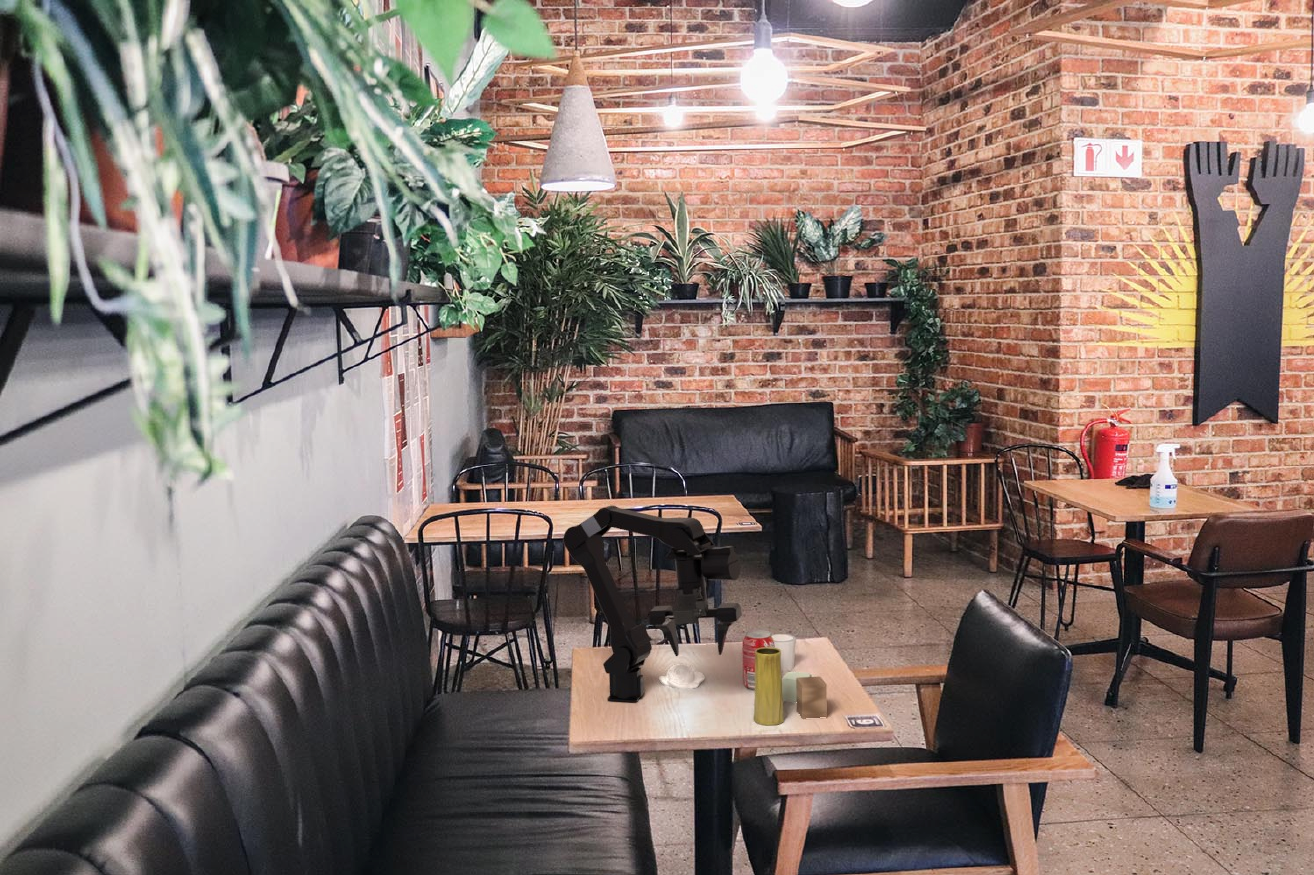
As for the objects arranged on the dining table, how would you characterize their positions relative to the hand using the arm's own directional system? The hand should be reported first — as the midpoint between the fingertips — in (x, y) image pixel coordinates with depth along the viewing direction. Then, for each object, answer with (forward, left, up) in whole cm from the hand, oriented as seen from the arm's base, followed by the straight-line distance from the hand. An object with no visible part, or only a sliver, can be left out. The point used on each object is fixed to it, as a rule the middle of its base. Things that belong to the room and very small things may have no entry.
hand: (698, 655), depth 220 cm
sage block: (+19, +10, -12) cm, 24 cm away
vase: (+15, -4, -12) cm, 19 cm away
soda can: (+10, +16, -12) cm, 22 cm away
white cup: (+13, +31, -12) cm, 36 cm away
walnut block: (+23, +1, -12) cm, 26 cm away
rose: (-7, +16, -12) cm, 21 cm away
